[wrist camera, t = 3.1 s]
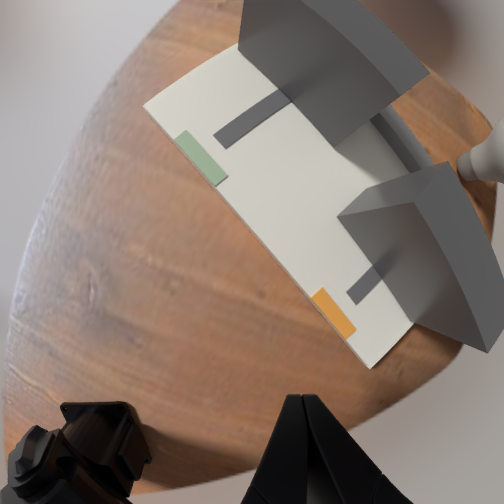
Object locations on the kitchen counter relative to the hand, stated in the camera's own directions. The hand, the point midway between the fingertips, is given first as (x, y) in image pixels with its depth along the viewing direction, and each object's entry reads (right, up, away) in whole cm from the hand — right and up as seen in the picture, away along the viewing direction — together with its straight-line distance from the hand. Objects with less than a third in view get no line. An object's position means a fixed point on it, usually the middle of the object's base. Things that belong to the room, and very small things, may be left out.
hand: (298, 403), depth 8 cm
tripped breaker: (+8, +4, +11) cm, 14 cm away
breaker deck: (+4, +9, +12) cm, 16 cm away
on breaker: (+2, +16, +10) cm, 18 cm away
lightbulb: (+18, +12, +13) cm, 25 cm away
